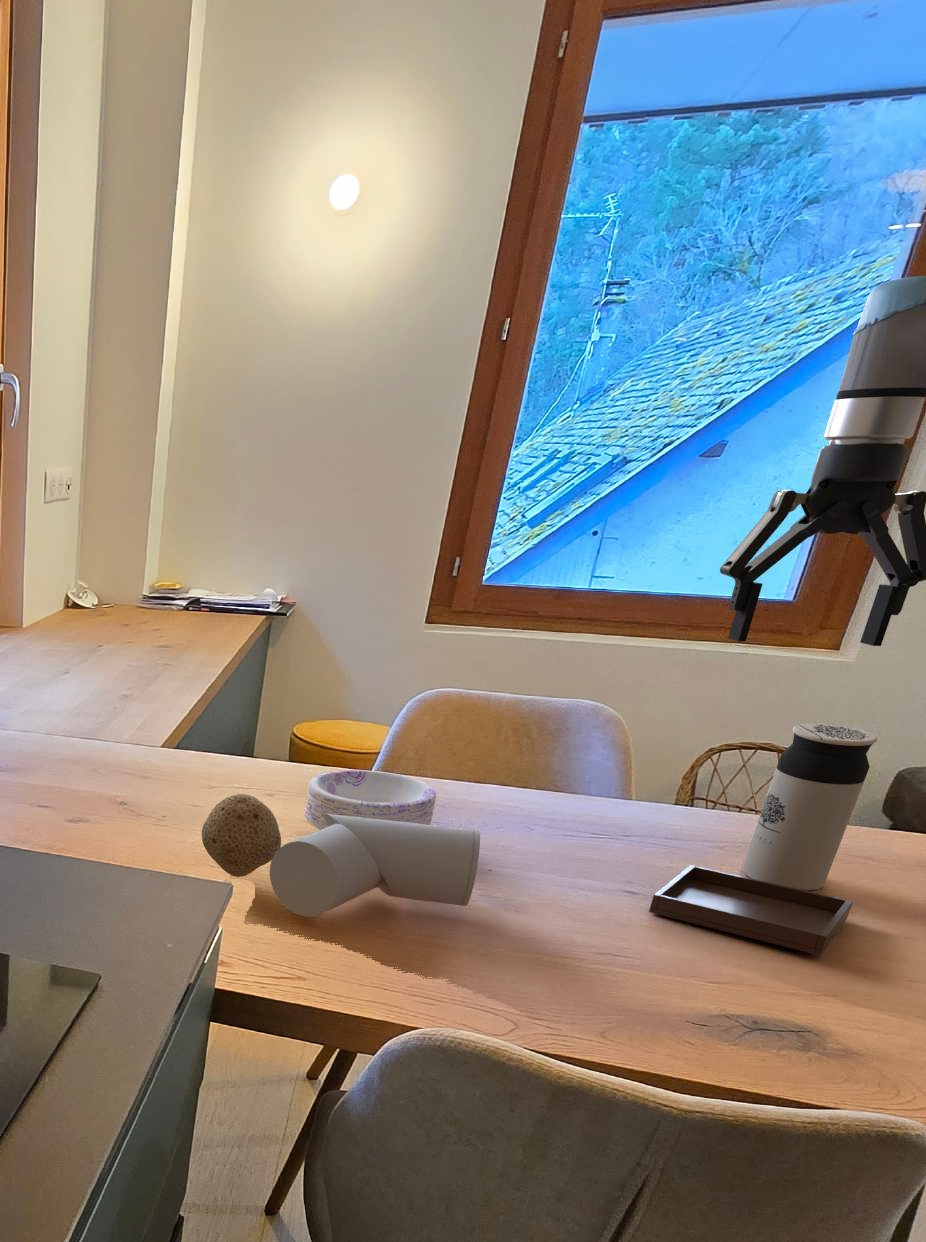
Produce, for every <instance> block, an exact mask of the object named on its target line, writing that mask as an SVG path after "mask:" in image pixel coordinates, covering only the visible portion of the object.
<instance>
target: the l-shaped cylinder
mask: <svg viewBox="0 0 926 1242" xmlns="http://www.w3.org/2000/svg"><path fill="white" fill-rule="evenodd" d="M324 817H325V820H326V822H327V824H328V826H329V827H326V828H324V829H321V830H319V829H318V830H316V831H314V832H311V833H309V834H306V835H304V836H302V837H299V838H297V839H294V840H293V841H292V840H291V841H290V842H287V843H285V844H283V845H281V848H280V849H278V851H277V852H276V853H275V855H274V856H273V859H272V860H271V861H270V866H269V879H270V884H271V887H272V891H273V893H274V894H275V896H276V898H277V899H278V901H279V902H280V903H281V904H282V905H283V906H284V907H285V908H286V909H288V910H289V911H291V912H292V913H294V914H296V915H299V916H302V917H310V918H311V917H313V918H314V917H318V916H321V915H323V914H326V913H327V912H329V911H331V910H333V909H335V908H337V907H339V906H342V905H343V904H345V903H347V902H349V901H351V900H354V899H356V898H357V897H359V896H362V895H364V894H366V893H368V892H370V891H372V890H374V889H375V888H378V890H380V891H381V892H382V893H384V894H386V896H388V897H392V898H401V899H409V900H415V901H416V900H417V901H423V902H431V903H439V904H445V905H446V904H447V905H454V906H455V905H456V906H460V907H461V906H462V907H467V906H468V904H469V902H470V900H471V896H472V893H473V889H474V885H475V881H476V876H477V872H478V865H479V858H480V847H481V832H480V830H479V829H472V828H463V827H455V826H454V827H453V826H443V825H435V824H431V825H426V824H417V823H407V822H398V821H389V820H379V819H370V818H360V817H351V816H342V815H332V814H324Z"/></svg>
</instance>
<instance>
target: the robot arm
mask: <svg viewBox="0 0 926 1242" xmlns="http://www.w3.org/2000/svg"><path fill="white" fill-rule="evenodd" d="M852 337H853V338H852V341H851V345H850V349H849V352H848V356H847V360H846V364H845V367H844V369H843V374H842V378H841V380H840V385H839V388H838V391H837V395H836V398H835V400H834V403H833V406H832V409H831V412H830V416H829V420H828V421H827V426H826V428H825V429H826V430H825V432H824V435H823V436H824V437H823V439H825V440H826V441H829V443H828V445H824V446H822V448H820V449H819V451H818V456H817V459H816V462H815V465H814V468H813V472H812V475H811V481H810V485H809V487H808V488H807V490H806V492H804V493H803V492H796V491H795V490H793V489H779V490H776V492H775V493H774V494H773V496H772V498H771V501H770V503H769V506H768V508H767V511H765V513H764V514H763V515H762V516H761V518H759V520H758V521H757V523H756V524H755V525H754V526H753V528H751V530H750V531H749V532H748V534H747V535H746V536H745V537H744V538H743V540H742V541H741V542H740V543H739V544H738V546H737V547H736V548H735V549H734V550H733V551H732V553H730V555H729V556H728V558H727V559H726V560H725V561H724V563H722V565H721V566H720V568H719V573H720V574H721V575H725V576H727V577H729V578H731V579H733V580H734V587H733V590H732V594H731V598H730V601H729V603H728V604H729V605H728V606H729V610H730V611H734V612H735V613H734V616H733V620H732V623H731V626H730V630H729V634H728V637H727V639H730V640H733V641H736V642H744V643H745V642H747V638H748V635H749V632H750V628H751V624H752V621H753V618H754V615H755V611H756V609H757V604H758V601H759V598H760V595H761V591H762V587H763V583H762V582H757V581H756V580H758V578H760V577H762V576H763V575H764V574H765V573H766V572H768V571H769V570H770V569H771V568H772V567H774V565H776V564H777V563H779V562H780V561H781V560H782V559H783V558H784V557H786V556H787V555H789V553H791V552H792V551H793V550H795V549H796V548H797V547H798V546H800V545H801V544H802V543H803V542H804V541H806V540H807V539H809V538H811V537H813V536H814V535H815V534H816V535H817V534H825V535H826V534H829V535H835V534H845V535H846V534H847V535H859V536H860V537H862V538H863V539H864V541H865V543H866V545H867V546H868V548H869V550H870V551H871V554H872V555H873V556H874V558H875V560H876V561H877V563H878V565H879V567H880V568H881V570H882V572H883V573H884V575H885V576H886V578H887V580H888V582H889V584H882V583H881V584H878V587H877V590H876V594H875V596H874V599H873V601H872V606H871V608H870V611H869V615H868V617H867V619H866V623H865V625H864V630H863V632H862V636H861V639H860V641H859V643H860V644H864V645H868V646H871V647H881V646H882V645H883V641H884V639H885V636H886V633H887V632H886V631H887V629H888V627H889V624H890V621H891V618H892V616H899V614H900V613H901V612H902V610H903V607H904V605H905V601H906V599H907V596H908V593H909V590H910V588H912V587H915V586H917V585H918V584H919V582H924V581H926V516H925V510H926V491H925V490H907V491H905V492H901V493H896V491H895V488H896V484H897V483H898V482H897V481H898V480H899V479H900V476H901V473H902V471H903V467H904V464H905V462H906V458H907V455H908V453H909V450H910V448H909V447H908V445H907V444H904V443H905V441H906V440H910V439H912V437H914V434H915V432H916V429H917V425H918V422H919V420H920V416H921V413H922V409H923V406H924V403H925V401H926V275H918V276H917V275H915V276H909V277H902V278H895V279H891V280H887V281H885V282H882V283H880V284H878V285H877V286H875V288H873V289H871V291H870V293H869V294H868V296H867V299H866V302H865V304H864V307H863V310H862V313H861V315H860V318H859V321H858V324H857V327H856V329H855V330H854V331H853V334H852ZM798 506H801V509H802V511H803V513H804V515H802V517H800V518H799V519H798V520H797V521H796V522H794V523H793V524H792V525H791V526H790V527H789V529H788V530H787V531H786V532H784V533H783V534H782V535H781V536H780V537H779V538H777V539H776V540H774V541H773V542H772V543H771V544H769V546H768V547H766V548H765V549H764V550H762V551H761V552H760V553H759V554H758V555H756V554H757V553H758V552H759V551H760V550H761V549H762V548H763V546H764V545H765V544H766V543H767V541H769V539H770V538H771V537H772V535H773V534H774V533H775V532H776V531H777V530H778V528H779V527H780V525H782V523H783V522H784V521H785V520H786V519H787V517H788V516H789V514H790V513H791V512H793V511H795V510H797V507H798ZM892 507H893V510H894V512H895V513H897V521H898V526H899V530H900V536H901V540H902V545H903V550H904V554H905V558H904V557H903V554H902V553H901V552H900V550H899V548H898V547H897V545H896V543H895V541H894V539H893V538H892V536H891V534H890V533H889V531H890V528H889V527H888V525H887V523H886V521H885V519H884V518H883V515H884V514H885V513H886V512H888V510H890V509H891V508H892Z"/></svg>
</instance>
